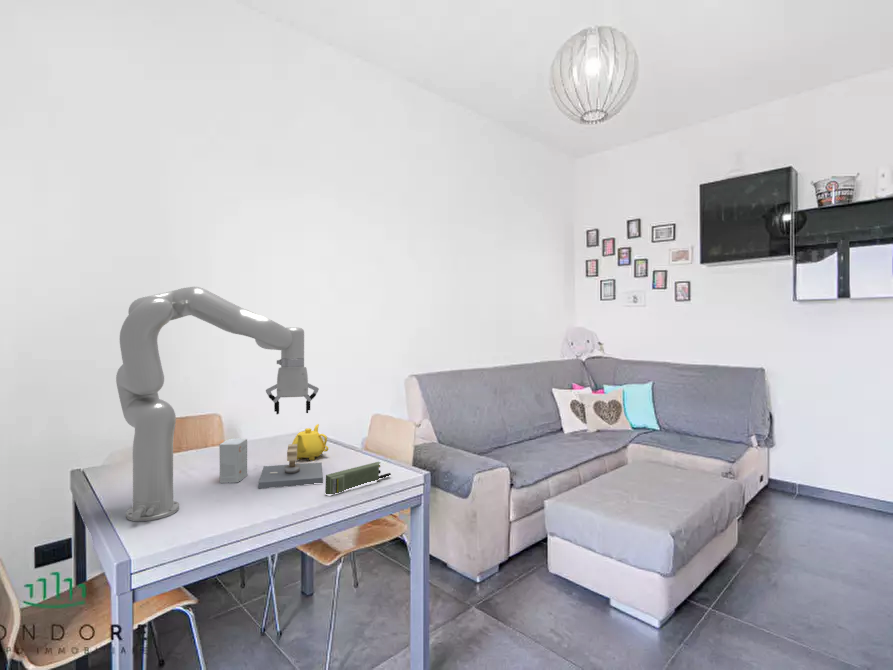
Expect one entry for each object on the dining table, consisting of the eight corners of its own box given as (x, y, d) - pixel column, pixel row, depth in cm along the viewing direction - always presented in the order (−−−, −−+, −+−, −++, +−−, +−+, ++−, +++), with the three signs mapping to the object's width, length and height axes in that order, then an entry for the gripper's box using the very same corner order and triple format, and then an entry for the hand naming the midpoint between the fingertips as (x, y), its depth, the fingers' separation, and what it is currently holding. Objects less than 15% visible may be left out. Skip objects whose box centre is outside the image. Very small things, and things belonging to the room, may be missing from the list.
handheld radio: (323, 495, 147) (386, 477, 164) (329, 498, 144) (392, 479, 162) (324, 474, 146) (387, 458, 164) (330, 476, 144) (393, 460, 162)
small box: (229, 475, 163) (229, 438, 163) (247, 475, 163) (247, 438, 163) (218, 483, 155) (218, 444, 155) (238, 483, 155) (238, 444, 155)
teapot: (318, 465, 176) (319, 435, 176) (280, 464, 177) (281, 433, 177) (336, 451, 196) (337, 424, 195) (302, 450, 197) (302, 422, 197)
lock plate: (322, 483, 156) (322, 477, 156) (258, 488, 150) (258, 482, 150) (321, 467, 173) (321, 461, 173) (263, 471, 168) (263, 465, 168)
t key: (299, 474, 158) (299, 451, 157) (283, 476, 156) (284, 452, 156) (300, 466, 167) (300, 443, 167) (285, 467, 166) (285, 444, 166)
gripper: (264, 364, 155) (264, 416, 155) (319, 364, 160) (318, 414, 160) (266, 362, 162) (266, 412, 163) (318, 362, 167) (318, 410, 167)
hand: (292, 413), depth 161 cm, fingers open, 9 cm apart
